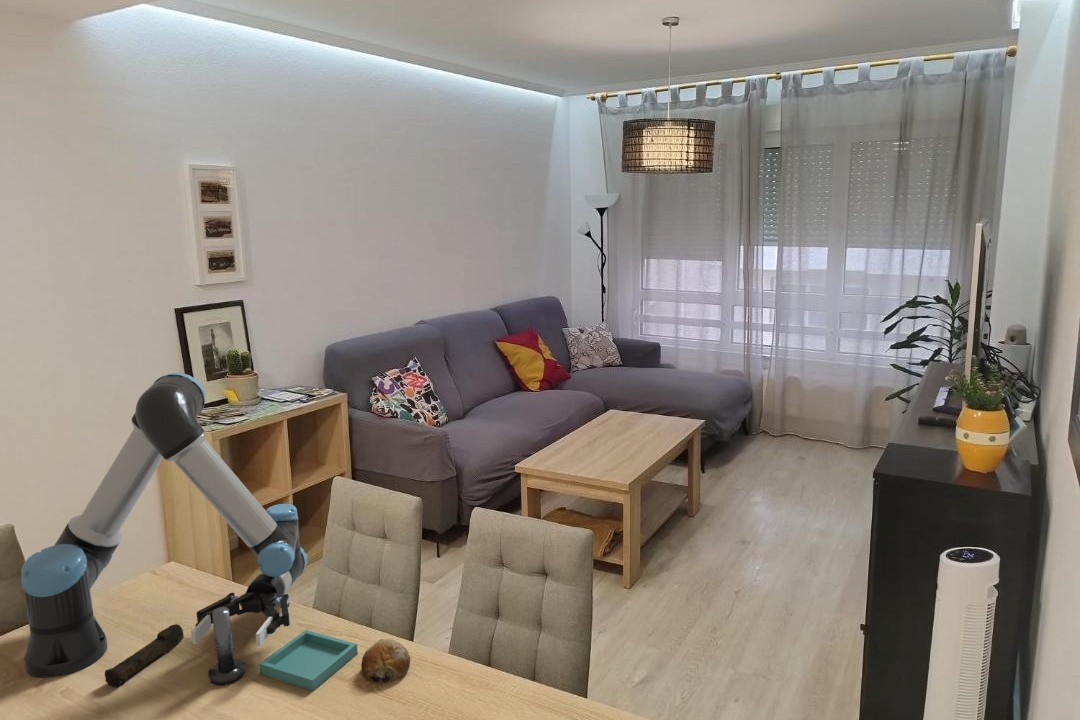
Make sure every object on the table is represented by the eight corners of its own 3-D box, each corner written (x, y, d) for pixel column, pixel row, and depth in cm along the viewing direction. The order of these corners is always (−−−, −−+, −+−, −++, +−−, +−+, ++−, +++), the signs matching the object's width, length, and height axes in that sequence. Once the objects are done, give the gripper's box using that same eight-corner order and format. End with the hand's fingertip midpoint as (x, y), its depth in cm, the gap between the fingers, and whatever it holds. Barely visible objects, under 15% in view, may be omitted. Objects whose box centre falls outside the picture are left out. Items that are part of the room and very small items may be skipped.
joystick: (201, 680, 158) (193, 615, 155) (227, 662, 165) (221, 599, 162) (226, 689, 156) (219, 623, 153) (252, 670, 162) (246, 606, 159)
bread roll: (415, 685, 162) (424, 645, 164) (384, 690, 153) (394, 648, 155) (379, 671, 167) (388, 633, 168) (347, 675, 158) (357, 635, 160)
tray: (260, 674, 160) (259, 663, 160) (306, 639, 173) (305, 629, 172) (313, 691, 155) (312, 680, 154) (357, 654, 167) (356, 643, 166)
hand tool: (118, 690, 156) (116, 670, 155) (104, 686, 157) (101, 665, 156) (192, 641, 173) (190, 622, 172) (179, 638, 175) (177, 619, 174)
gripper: (322, 604, 179) (286, 657, 158) (218, 601, 181) (169, 653, 160) (320, 573, 177) (283, 623, 157) (215, 571, 179) (165, 620, 158)
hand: (225, 638), depth 158 cm, fingers open, 13 cm apart
